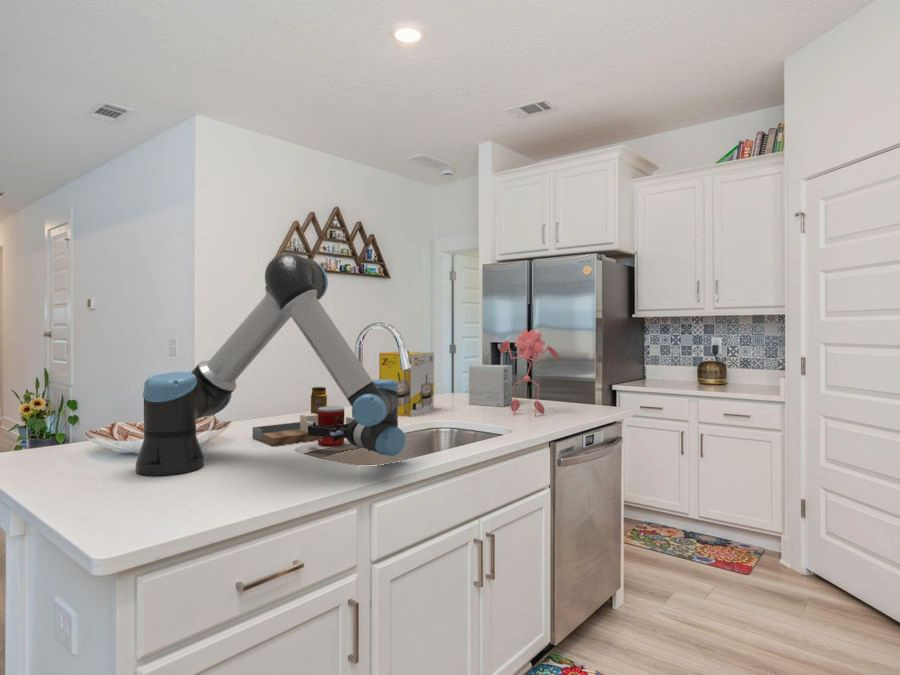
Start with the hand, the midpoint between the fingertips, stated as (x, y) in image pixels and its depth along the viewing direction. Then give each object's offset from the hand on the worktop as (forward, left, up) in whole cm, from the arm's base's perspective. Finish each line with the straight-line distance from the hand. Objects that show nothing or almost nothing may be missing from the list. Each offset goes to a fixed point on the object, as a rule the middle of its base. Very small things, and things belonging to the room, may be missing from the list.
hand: (327, 423), depth 171 cm
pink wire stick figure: (+93, 0, -6) cm, 93 cm away
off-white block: (-1, +9, -3) cm, 10 cm away
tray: (-5, +17, -6) cm, 19 cm away
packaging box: (+55, +34, -6) cm, 65 cm away
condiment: (+19, +43, -6) cm, 48 cm away
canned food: (0, -3, -6) cm, 7 cm away
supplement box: (+101, +31, -6) cm, 106 cm away
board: (-5, +9, -6) cm, 12 cm away
